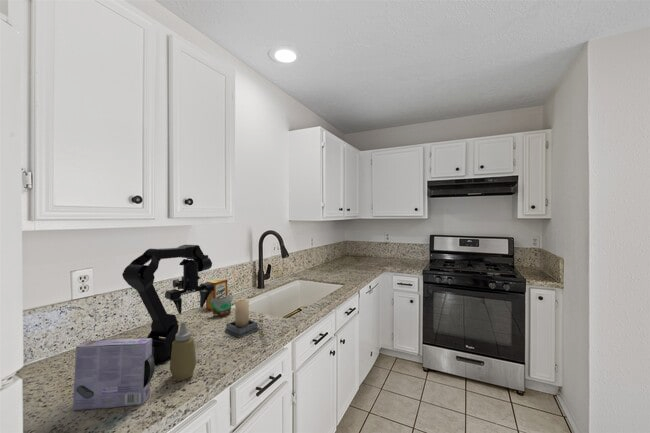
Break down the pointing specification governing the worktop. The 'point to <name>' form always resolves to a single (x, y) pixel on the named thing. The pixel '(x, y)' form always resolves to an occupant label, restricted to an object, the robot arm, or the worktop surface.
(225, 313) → the food container
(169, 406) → the worktop surface
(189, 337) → the squeeze bottle
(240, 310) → the beige tapered cylinder
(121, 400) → the cake pan box
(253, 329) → the dock
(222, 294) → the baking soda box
